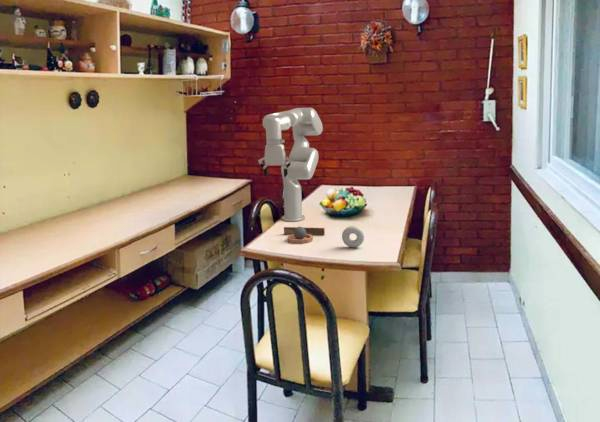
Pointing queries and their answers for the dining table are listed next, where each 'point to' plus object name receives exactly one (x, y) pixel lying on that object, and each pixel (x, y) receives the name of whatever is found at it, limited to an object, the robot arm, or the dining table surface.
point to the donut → (354, 230)
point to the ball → (299, 233)
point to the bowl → (306, 239)
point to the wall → (308, 231)
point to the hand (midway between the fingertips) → (276, 176)
